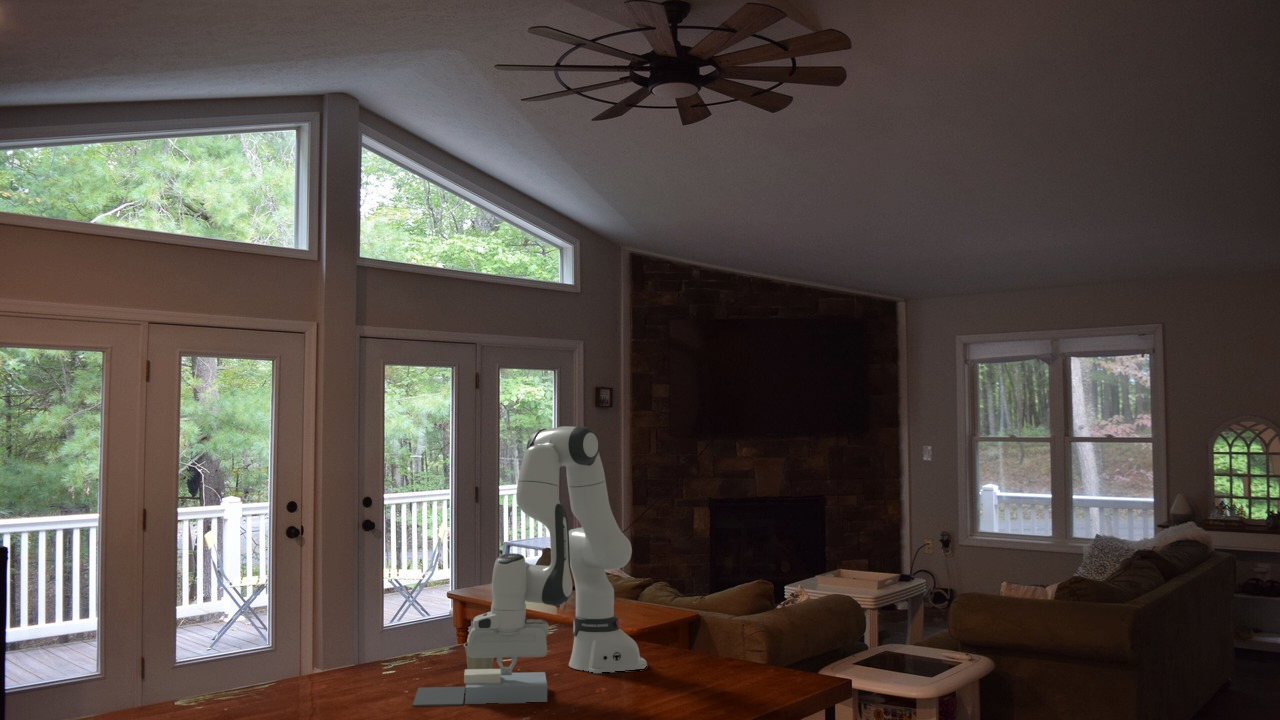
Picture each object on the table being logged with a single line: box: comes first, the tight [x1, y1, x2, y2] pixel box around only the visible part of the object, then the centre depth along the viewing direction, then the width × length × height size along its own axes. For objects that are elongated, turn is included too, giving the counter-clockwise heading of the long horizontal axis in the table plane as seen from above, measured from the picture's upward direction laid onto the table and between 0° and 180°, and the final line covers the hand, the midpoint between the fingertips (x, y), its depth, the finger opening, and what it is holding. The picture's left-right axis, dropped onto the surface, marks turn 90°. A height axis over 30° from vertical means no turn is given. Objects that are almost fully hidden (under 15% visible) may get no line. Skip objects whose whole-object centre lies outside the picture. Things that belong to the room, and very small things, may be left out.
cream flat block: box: [463, 668, 501, 684], centre depth 245 cm, size 9×6×2 cm, turn 98°
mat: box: [412, 686, 466, 707], centre depth 243 cm, size 12×16×1 cm
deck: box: [464, 671, 548, 705], centre depth 245 cm, size 20×14×4 cm
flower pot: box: [463, 641, 495, 669], centre depth 264 cm, size 9×9×9 cm
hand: (506, 674), depth 245 cm, fingers closed
